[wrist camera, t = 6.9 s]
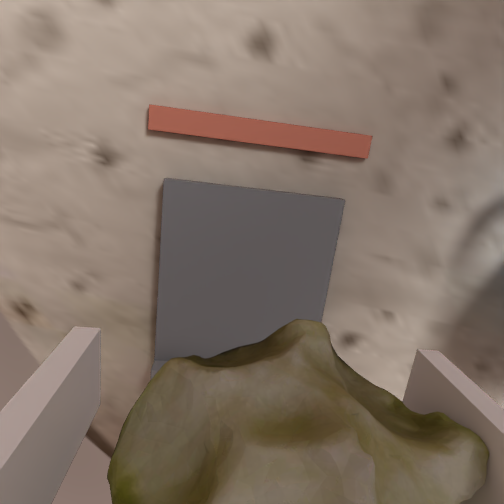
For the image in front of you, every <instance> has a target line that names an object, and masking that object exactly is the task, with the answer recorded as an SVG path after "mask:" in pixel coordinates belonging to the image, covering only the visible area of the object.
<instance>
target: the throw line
mask: <svg viewBox="0 0 504 504" xmlns="http://www.w3.org/2000/svg"><path fill="white" fill-rule="evenodd" d="M148 129H149V130H156V131H163V132H171V133H179V134H186V135H194V136H201V137H209V138H216V139H224V140H231V141H239V142H246V143H254V144H261V145H269V146H276V147H284V148H291V149H299V150H306V151H314V152H321V153H329V154H336V155H344V156H351V157H359V158H368V155H369V150H370V145H371V140H372V136H369V135H362V134H355V133H348V132H341V131H334V130H327V129H319V128H312V127H305V126H298V125H291V124H284V123H277V122H270V121H263V120H256V119H249V118H242V117H234V116H227V115H220V114H213V113H206V112H199V111H192V110H185V109H178V108H171V107H164V106H157V105H149V123H148Z"/></svg>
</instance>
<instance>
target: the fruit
mask: <svg viewBox="0 0 504 504" xmlns="http://www.w3.org/2000/svg"><path fill="white" fill-rule="evenodd" d="M488 458H489V451H488V449H487V447H486V445H485V444H484V442H483V441H482V439H481V438H480V436H478V435H477V434H475V433H474V432H473V431H471V430H470V429H468V428H466V427H464V426H462V425H460V424H458V423H456V422H455V421H453V420H452V419H450V418H449V417H448V416H446V415H445V414H444V413H441V412H432V413H429V414H425V415H424V414H419V413H416V412H413V411H411V410H409V409H408V408H407V407H406V406H405V405H404V404H403V402H402V401H400V400H399V399H398V398H396V397H395V396H394V395H392V394H391V393H389V392H388V391H387V390H384V389H382V388H380V387H377V386H375V385H374V384H372V383H371V382H369V381H368V380H366V379H365V378H363V377H362V376H360V375H359V374H357V373H356V372H355V371H354V370H353V369H352V368H351V367H350V366H348V365H347V364H346V363H345V362H344V361H343V360H342V359H341V358H340V357H338V356H337V354H336V352H335V350H334V349H333V347H332V345H331V341H330V335H329V332H328V330H327V328H326V326H325V325H323V324H322V323H321V322H317V321H313V320H306V319H304V320H303V319H295V320H293V321H291V322H290V323H288V324H286V325H284V326H283V327H281V328H279V329H278V330H276V331H275V332H274V333H272V334H271V335H270V336H268V337H267V338H265V339H264V340H262V341H260V342H258V343H253V344H249V345H244V346H239V347H236V348H233V349H231V350H228V351H225V352H222V353H220V354H218V355H216V356H213V357H210V358H202V357H200V356H197V355H191V356H188V357H177V358H171V359H170V360H169V361H167V362H166V363H165V364H164V365H163V366H162V367H161V368H160V370H159V371H158V372H157V373H156V374H155V376H154V377H153V378H152V379H151V380H150V382H149V383H148V385H147V387H146V388H145V390H144V392H143V393H142V395H141V396H140V397H139V399H138V400H137V402H136V403H135V405H134V406H133V408H132V409H131V411H130V413H129V414H128V416H127V418H126V420H125V422H124V424H123V427H122V430H121V433H120V436H119V439H118V442H117V445H116V448H115V450H114V453H113V456H112V458H111V461H110V465H109V469H108V475H107V479H108V481H109V484H110V490H111V497H112V504H460V503H461V502H463V501H465V500H468V499H471V498H472V496H473V495H474V494H475V492H476V491H477V490H479V489H480V488H481V487H482V486H483V485H484V484H485V480H486V475H487V462H488Z"/></svg>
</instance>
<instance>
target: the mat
mask: <svg viewBox="0 0 504 504" xmlns="http://www.w3.org/2000/svg"><path fill="white" fill-rule="evenodd" d="M344 204H345V200H343V199H340V198H331V197H323V196H315V195H306V194H298V193H289V192H281V191H272V190H264V189H255V188H247V187H238V186H230V185H221V184H213V183H204V182H196V181H188V180H179V179H171V178H165V179H164V185H163V204H162V223H161V242H160V262H159V281H158V300H157V320H156V339H155V358H154V363H153V366H152V369H151V379H152V378H153V377H154V376H155V374H156V373H157V372H158V371H159V370H160V368H161V367H162V366H163V365H164V364H165V363H166V362H167V361H169V360H170V359H171V358H177V357H188V356H191V355H197V356H200V357H202V358H210V357H213V356H216V355H218V354H220V353H222V352H225V351H228V350H231V349H233V348H236V347H239V346H244V345H249V344H253V343H258V342H260V341H262V340H264V339H265V338H267V337H268V336H270V335H271V334H272V333H274V332H275V331H276V330H278V329H279V328H281V327H283V326H284V325H286V324H288V323H290V322H291V321H293V320H295V319H303V320H304V319H306V320H313V321H317V322H321V321H322V316H323V311H324V306H325V301H326V296H327V291H328V286H329V280H330V275H331V270H332V265H333V260H334V255H335V250H336V245H337V240H338V235H339V230H340V225H341V220H342V214H343V209H344Z"/></svg>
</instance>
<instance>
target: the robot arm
mask: <svg viewBox="0 0 504 504" xmlns="http://www.w3.org/2000/svg"><path fill="white" fill-rule="evenodd" d="M100 378H101V328H91V327H76V326H74V327H73V328H72V330H71V331H70V332H69V333H68V334H67V335H66V336H65V338H64V339H63V340H62V341H61V342H60V343H59V344H58V346H57V347H56V348H55V349H54V350H53V351H52V352H51V354H50V355H49V356H48V357H47V358H46V359H45V360H44V362H43V363H42V364H41V365H40V366H39V368H38V369H37V370H36V371H35V372H34V373H33V375H31V377H30V378H29V379H28V380H27V381H26V382H25V383H24V385H23V386H22V387H21V388H20V389H19V390H18V392H17V393H16V394H15V395H14V396H13V397H12V399H11V400H10V401H9V402H8V403H7V404H6V405H5V407H4V408H3V409H2V410H1V411H0V504H52V502H53V500H54V498H55V495H56V493H57V491H58V489H59V488H60V485H61V483H62V481H63V479H64V477H65V475H66V473H67V471H68V469H69V467H70V465H71V463H72V461H73V459H74V457H75V455H76V453H77V451H78V449H79V447H80V445H81V443H82V441H83V439H84V437H85V435H86V433H87V431H88V429H89V426H90V424H91V422H92V420H93V418H94V416H95V414H96V412H97V410H98V408H99V406H100ZM403 404H404V405H405V406H406V407H407V408H408V409H409V410H411V411H413V412H416V413H419V414H424V415H425V414H429V413H432V412H441V413H444V414H445V415H446V416H448V417H449V418H450V419H452V420H453V421H455V422H456V423H458V424H460V425H462V426H464V427H466V428H468V429H470V430H471V431H473V432H474V433H475V434H477V435H478V436H480V438H481V439H482V441H483V442H484V444H485V445H486V447H487V449H488V451H489V458H488V462H487V475H486V480H485V484H484V485H483V486H482V487H481V488H480V489H479V490H477V491H476V492H475V494H474V495H473V496H472V498H471V499H468V500H465V501H463V502H461V503H460V504H504V409H503V408H502V407H501V406H500V405H498V404H497V403H496V402H495V401H494V400H493V399H492V398H491V397H490V396H488V395H487V394H486V393H485V392H484V391H483V390H482V389H481V388H480V387H478V386H477V385H476V384H475V383H474V382H473V381H472V380H471V379H470V378H468V377H467V376H466V375H465V374H464V373H463V372H462V371H461V370H460V369H458V368H457V367H456V366H455V365H454V364H453V363H452V362H451V361H450V360H448V359H447V358H446V357H445V356H444V355H443V354H442V353H441V352H440V351H438V350H423V349H417V352H416V356H415V359H414V363H413V366H412V370H411V374H410V377H409V381H408V384H407V388H406V391H405V395H404V398H403Z"/></svg>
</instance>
